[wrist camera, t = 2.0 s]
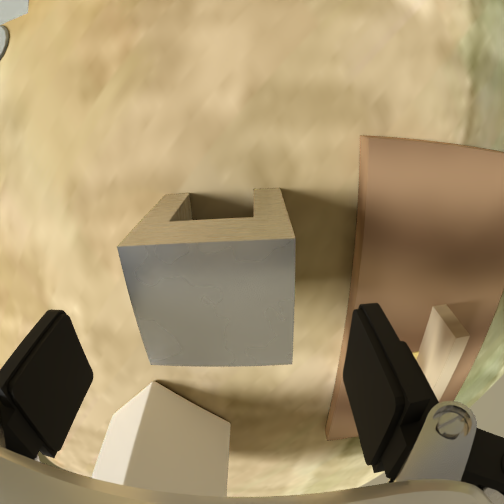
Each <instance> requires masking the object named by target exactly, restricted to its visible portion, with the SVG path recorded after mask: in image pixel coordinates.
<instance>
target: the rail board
mask: <svg viewBox="0 0 504 504" xmlns="http://www.w3.org/2000/svg"><path fill="white" fill-rule="evenodd" d="M503 290H504V152H501V151H495V150H490V149H484V148H478V147H472V146H465V145H458V144H451V143H443V142H435V141H426V140H417V139H406V138H394V137H380V136H362V135H360V166H359V191H358V209H357V223H356V236H355V247H354V258H353V268H352V277H351V285H350V293H349V301H348V309H347V316H346V323H345V329H344V336H343V342H342V348H341V354H340V360H339V365H338V371H337V376H336V381H335V386H334V391H333V396H332V401H331V405H330V410H329V415H328V419H327V423H326V428H325V431H326V437H327V441H329V440H337V439H344V438H351V437H358V436H359V435H358V432H357V428H356V424H355V421H354V417H353V413H352V410H351V406H350V403H349V399H348V396H347V392H346V389H345V385H344V382H343V368H344V363H345V357H346V352H347V346H348V340H349V333H350V327H351V320H352V314H353V310H354V309H358V307H359V305H360V304H368V303H378V304H379V305H380V306H381V308H382V310H383V312H384V313H385V315H386V317H387V318H388V320H389V322H390V324H391V325H392V327H393V329H394V330H395V332H396V334H397V336H398V338H399V339H400V341H404V342H406V343H407V345H408V346H409V348H410V350H411V352H412V353H413V355H414V357H415V359H416V360H417V362H418V364H419V366H420V368H421V369H422V371H423V373H424V375H425V377H426V379H427V381H428V382H429V384H430V386H431V388H432V390H433V392H434V394H435V396H436V398H437V400H438V401H439V403H441V402H444V401H454V399H455V397H456V396H457V394H458V392H459V390H460V388H461V386H462V385H463V383H464V381H465V379H466V377H467V375H468V373H469V371H470V369H471V367H472V365H473V363H474V361H475V359H476V357H477V355H478V353H479V350H480V348H481V346H482V344H483V341H484V339H485V337H486V335H487V332H488V330H489V327H490V325H491V322H492V320H493V317H494V315H495V312H496V309H497V307H498V304H499V301H500V298H501V296H502V293H503Z"/></svg>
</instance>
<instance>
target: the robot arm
mask: <svg viewBox="0 0 504 504" xmlns="http://www.w3.org/2000/svg"><path fill="white" fill-rule="evenodd" d="M92 381H93V372H92V369H91V367H90V365H89V363H88V360H87V358H86V356H85V354H84V351H83V349H82V347H81V344H80V342H79V339H78V337H77V335H76V332H75V330H74V327H73V324H72V322H71V319H70V317H69V316H68V315H66V313H65V312H64V311H63V310H48V311H47V312H46V313H45V314H44V315H43V317H42V318H41V319H40V320H39V321H38V323H37V324H36V325H35V326H34V327H33V329H32V330H31V331H30V332H29V334H28V335H27V336H26V337H25V338H24V340H23V341H22V342H21V344H20V345H19V346H18V347H17V349H16V350H15V351H14V352H13V354H12V355H11V356H10V358H9V359H8V360H7V362H6V363H5V364H4V366H3V367H2V368H1V370H0V504H504V438H503V437H500V436H497V435H494V434H492V433H489V432H486V431H483V430H481V429H478V428H477V421H476V418H475V415H474V414H473V412H472V411H471V409H469V408H468V407H467V406H466V405H464V404H462V403H460V402H455V401H444V402H441V403H439V401H438V400H437V398H436V396H435V394H434V392H433V390H432V388H431V386H430V384H429V382H428V381H427V379H426V377H425V375H424V373H423V371H422V369H421V368H420V366H419V364H418V362H417V360H416V359H415V357H414V355H413V353H412V352H411V350H410V348H409V346H408V345H407V343H406V342H404V341H400V339H399V338H398V336H397V334H396V332H395V330H394V329H393V327H392V325H391V324H390V322H389V320H388V318H387V317H386V315H385V313H384V312H383V310H382V308H381V306H380V305H379V304H378V303H368V304H360V305H359V307H358V309H354V310H353V314H352V320H351V327H350V333H349V340H348V346H347V352H346V357H345V363H344V368H343V382H344V385H345V389H346V392H347V396H348V399H349V403H350V406H351V410H352V413H353V417H354V421H355V424H356V428H357V432H358V435H359V439H360V443H361V447H362V450H363V454H364V458H365V462H366V464H367V465H372V467H373V471H374V473H377V472H381V471H385V474H386V477H387V478H389V481H388V482H387V483H385V484H379V485H373V486H366V487H359V488H353V489H346V490H340V491H332V492H324V493H315V494H303V495H290V496H272V497H218V496H201V495H189V494H178V493H170V492H162V491H155V490H148V489H142V488H136V487H131V486H125V485H120V484H116V483H111V482H107V481H102V480H98V479H94V478H90V477H86V476H83V475H79V474H76V473H72V472H69V471H65V470H62V469H59V468H55V467H53V466H50V465H47V464H44V463H41V462H40V461H39V457H38V452H39V451H40V452H41V453H42V454H43V455H46V456H49V457H52V458H55V455H56V453H57V451H59V450H61V448H62V446H63V443H64V441H65V439H66V436H67V434H68V432H69V430H70V427H71V425H72V423H73V421H74V419H75V416H76V414H77V412H78V410H79V408H80V406H81V404H82V401H83V399H84V397H85V395H86V393H87V391H88V389H89V387H90V385H91V383H92Z"/></svg>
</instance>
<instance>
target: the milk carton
mask: <svg viewBox="0 0 504 504" xmlns="http://www.w3.org/2000/svg"><path fill="white" fill-rule="evenodd" d="M230 428H231V424H230V423H229V422H228V421H226V420H224V419H222V418H220V417H218V416H216V415H214V414H212V413H210V412H208V411H206V410H204V409H203V408H201V407H199V406H197V405H195V404H193V403H191V402H190V401H188V400H186V399H184V398H183V397H181V396H179V395H177V394H176V393H174V392H172V391H170V390H169V389H167V388H165V387H164V386H162V385H160V384H159V383H157V382H155V381H153V382H151V383H150V384H149V385H148V386H147V387H145V388H144V389H143V390H142V391H141V392H139V393H138V394H137V395H136V396H135V397H133V398H132V399H131V400H130V401H129V402H127V403H126V404H125V405H124V406H123V407H121V408H120V409H119V410H118V411H117V412H115V413H114V414H113V416H112V419H111V421H110V424H109V427H108V430H107V433H106V435H105V438H104V441H103V444H102V447H101V450H100V453H99V456H98V459H97V462H96V465H95V468H94V471H93V474H92V477H91V478H94V479H98V480H102V481H107V482H111V483H116V484H120V485H125V486H131V487H136V488H142V489H148V490H155V491H162V492H170V493H178V494H189V495H201V496H218V497H226V496H227V478H228V461H229V444H230Z"/></svg>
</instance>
